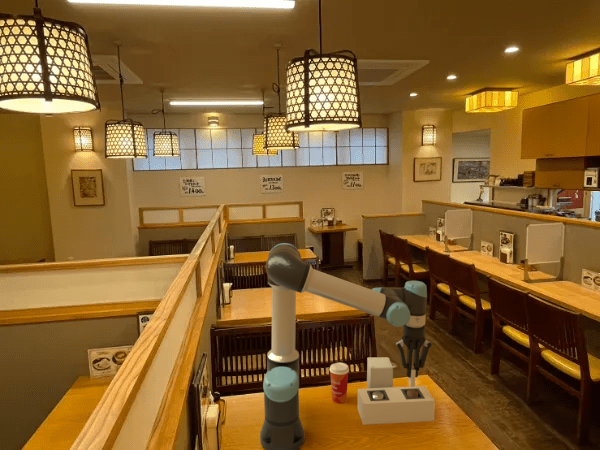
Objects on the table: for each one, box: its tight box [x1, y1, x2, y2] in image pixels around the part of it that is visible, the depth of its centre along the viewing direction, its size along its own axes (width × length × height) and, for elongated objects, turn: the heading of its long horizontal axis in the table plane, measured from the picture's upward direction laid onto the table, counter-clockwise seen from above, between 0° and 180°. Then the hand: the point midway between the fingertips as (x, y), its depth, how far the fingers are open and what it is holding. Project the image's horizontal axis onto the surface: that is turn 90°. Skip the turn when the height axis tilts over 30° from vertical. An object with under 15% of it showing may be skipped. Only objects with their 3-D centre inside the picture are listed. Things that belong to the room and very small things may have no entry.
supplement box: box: [366, 356, 394, 389], centre depth 164 cm, size 9×9×15 cm
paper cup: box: [329, 361, 350, 404], centre depth 163 cm, size 8×8×14 cm
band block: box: [357, 385, 436, 426], centre depth 153 cm, size 26×10×8 cm, turn 93°
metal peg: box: [372, 391, 383, 400], centre depth 152 cm, size 4×4×8 cm
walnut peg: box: [407, 390, 418, 398], centre depth 153 cm, size 4×4×8 cm
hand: (411, 384), depth 152 cm, fingers closed
